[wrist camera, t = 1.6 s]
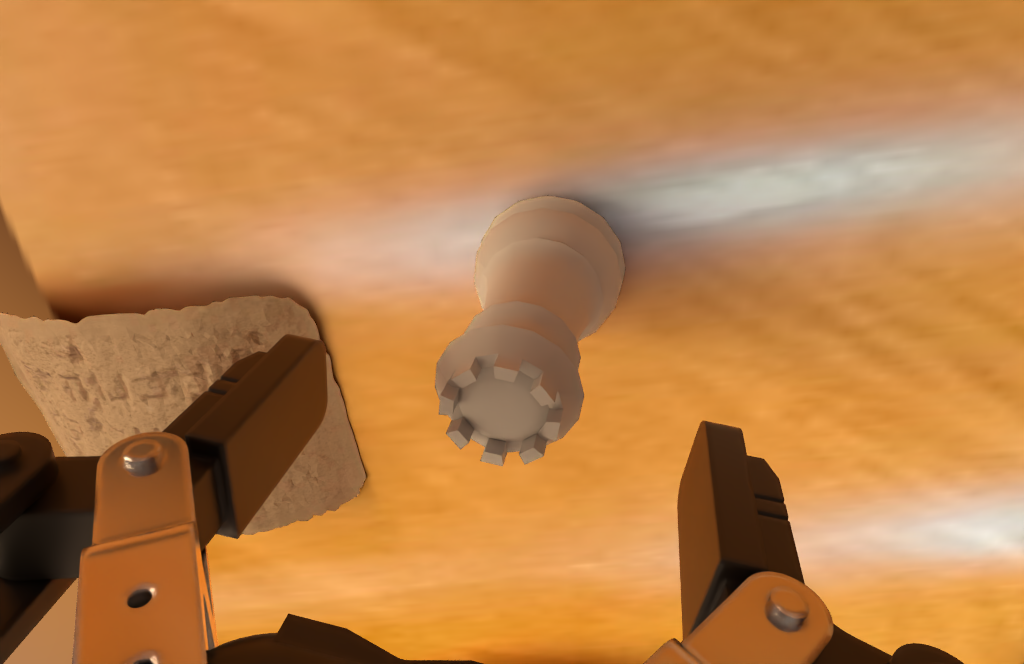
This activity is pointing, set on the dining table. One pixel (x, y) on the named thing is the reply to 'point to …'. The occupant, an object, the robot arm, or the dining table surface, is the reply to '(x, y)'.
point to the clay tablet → (176, 386)
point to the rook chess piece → (529, 327)
